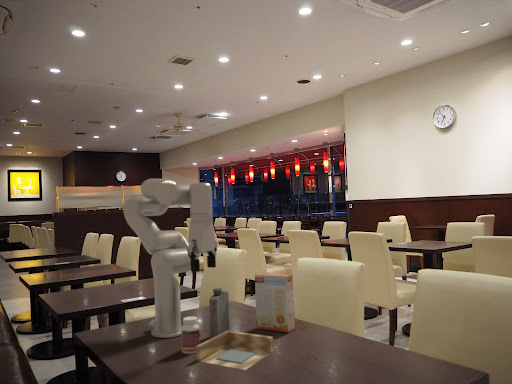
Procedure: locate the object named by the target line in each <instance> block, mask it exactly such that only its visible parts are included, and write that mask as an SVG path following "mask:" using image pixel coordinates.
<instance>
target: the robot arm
mask: <svg viewBox="0 0 512 384" xmlns="http://www.w3.org/2000/svg"><path fill="white" fill-rule="evenodd" d="M140 192H141V194H142V195H136V196H131V197H128V198H126V199H125V201H124V203H123V206H122V210H123V216H124V219H125V221H126V223H127V225H128V226H129V227H130V228H131V229H132V231H133V232H134V233H135V234H136V236H137V237H138V239H139V241H140V242H141V244H142V245H143V247H144V249H145V250H146V252H147V253H148V254H149V255H151V259H150V266H151V269H152V276H153V285H154V286H153V287H154V289H153V290H154V313H155V314H154V317H155V318H154V319H151V320H150V322H149V323H148V326H149V327H153V329H152V330H151V331H150V332H151V336H152V337H154V338H158V339H160V338H161V339H165V338H166V339H168V338H169V339H170V338H175V337H179V336H181V327H182V318H181V317H182V315H181V314H182V311H181V310H182V309H181V308H182V307H181V306H182V305H181V285H180V282H179V281H178V279H177V278H176V276H175V275H176V274H181V273H186V272H191V273H193V272H194V273H197V272H200V271H201V265H200V261H201V260H200V259H199V257H200V254H205V253H206V254H207V256H206V263H207V264H206V265H207V268H211V269H212V268H213V269H214V268H216V267H217V261H216V256H217V251H218V245H219V242H217V241H216V237H215V236H216V235H215V228H214V219H213V218H214V217H213V196H212V193H213V192H212V185H211V184H210V183H208V182H194V183H190V184H189V183H176V181H174V179H170V178H148V179H145V180H144V181H143V182H142V183H141V184H140ZM170 206H171V207H172V206H175V207H177V206H189V211H190V213H189V214H190V223H189V228H188V240H186V238H185V236H184V235H183V234H182V233H181V232H180V231H178V230H175V229H174V230H173V229H171V230H161V229H160V228H159V227H158V225H157V223H156V222H155V221H153V220H152V219H150V218H149V217H154V216H162V215H163V214H165V213H166V212H167V210H168V209H169V207H170Z"/></svg>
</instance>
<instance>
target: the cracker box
mask: <svg viewBox="0 0 512 384" xmlns="http://www.w3.org/2000/svg"><path fill="white" fill-rule="evenodd" d="M254 284H255V285H254V287H255V289H254V290H255V295H254V296H255V321H256V322H255V323H256V324H255V325H256V329H260V330H266V331H274V332H275V331H276V332H282V333H290V332H292V331H293V330H295V329H296V326H295V325H296V324H295V323H296V322H295V320H296V319H295V300H294V299H295V297H294V274H292V273H290V274H289V273H274V272H260V273H257V274H255V275H254Z"/></svg>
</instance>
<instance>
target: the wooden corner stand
mask: <svg viewBox="0 0 512 384" xmlns="http://www.w3.org/2000/svg"><path fill="white" fill-rule="evenodd" d="M231 349H236V350H242V351H248V352H254V353H256V355H254V356H253V357H251V358H250V359H248V360H247V361H245V362H244V363H242V364H239V363H234V362H228V361H223V360H217V359H216V358H217V357H219V356H221V355H222V354H224V353H226V352H228V351H229V350H231ZM273 352H274V337H273V336H269V335H263V334H256V333H248V332H242V331H241V332H240V331H234V330H229V331H228V330H227V331H225V332H223V333H221V334H219V335H217V336H215V337H213V338H211V337H210V338H209V339H207V340H206V341H203V342H200V344H199V345H197V346H196V353H195V358H196V359H195V360H196V362H199V363H206V364H211V365H216V366H222V367H227V368H232V369H237V370H242V371H243V370H244V371H247V370H248V369H250V368H251V367H252V366H254V365H255V364H257V363H258V362H260V361H261V360H262V359H263V358H265V357H267V356H268V355H270V354H271V353H273Z"/></svg>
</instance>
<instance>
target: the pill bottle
mask: <svg viewBox="0 0 512 384" xmlns="http://www.w3.org/2000/svg"><path fill="white" fill-rule="evenodd" d="M182 323H183V325H182V324H181V326H182V327H181V335H180V339H181V343H180V344H181V345H180V346H181V353H183V354H188V355H189V354H196V346H197V345H199V344H201V326H200V324H199V323H198V317H197V316H185V317H183V319H182Z"/></svg>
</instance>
